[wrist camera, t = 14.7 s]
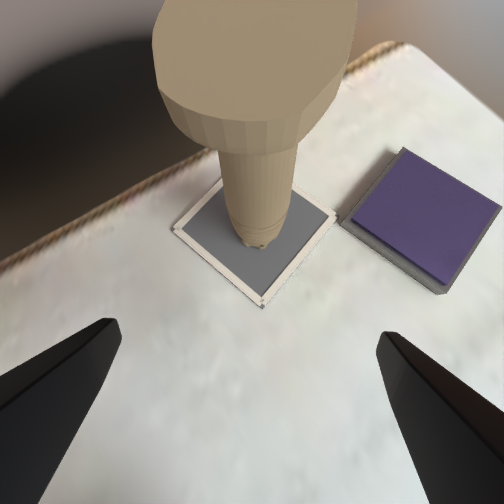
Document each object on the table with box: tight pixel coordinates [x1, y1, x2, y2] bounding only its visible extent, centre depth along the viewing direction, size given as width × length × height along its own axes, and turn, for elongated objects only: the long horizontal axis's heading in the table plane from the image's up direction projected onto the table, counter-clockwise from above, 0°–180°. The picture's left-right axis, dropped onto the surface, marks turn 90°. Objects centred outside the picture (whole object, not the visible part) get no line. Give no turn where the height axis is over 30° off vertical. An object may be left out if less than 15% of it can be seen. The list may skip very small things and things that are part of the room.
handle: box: [152, 0, 358, 250], centre depth 13 cm, size 5×6×15 cm
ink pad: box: [340, 147, 502, 295], centre depth 20 cm, size 9×9×1 cm
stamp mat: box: [171, 178, 339, 309], centre depth 21 cm, size 10×10×1 cm
